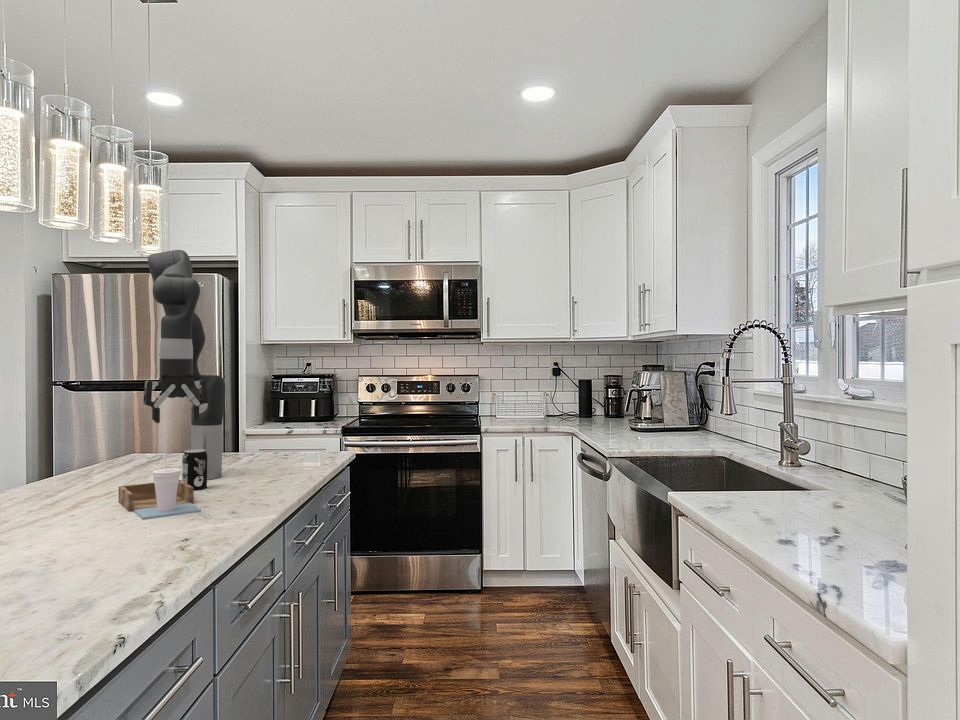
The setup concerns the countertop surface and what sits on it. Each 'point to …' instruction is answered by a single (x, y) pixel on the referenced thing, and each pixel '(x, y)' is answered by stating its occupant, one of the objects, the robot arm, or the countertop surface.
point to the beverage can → (195, 468)
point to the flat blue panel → (154, 513)
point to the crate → (150, 495)
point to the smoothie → (166, 487)
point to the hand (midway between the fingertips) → (176, 421)
